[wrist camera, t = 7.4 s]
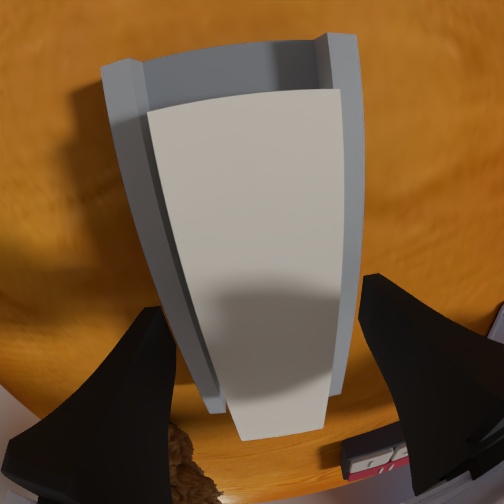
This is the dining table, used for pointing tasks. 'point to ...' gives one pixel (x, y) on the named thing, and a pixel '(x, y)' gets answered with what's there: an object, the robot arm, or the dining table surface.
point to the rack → (217, 86)
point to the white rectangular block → (260, 244)
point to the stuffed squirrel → (187, 472)
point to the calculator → (373, 452)
